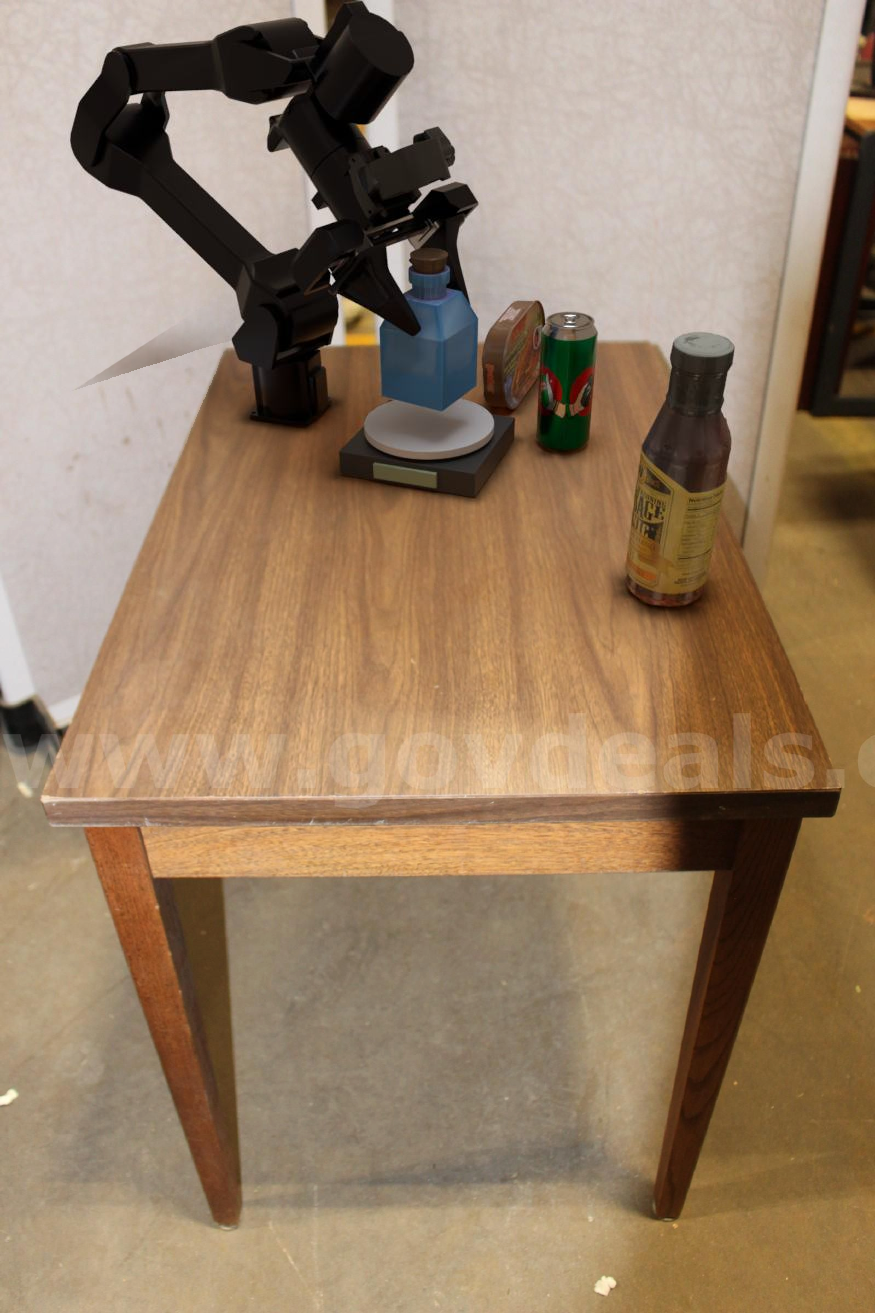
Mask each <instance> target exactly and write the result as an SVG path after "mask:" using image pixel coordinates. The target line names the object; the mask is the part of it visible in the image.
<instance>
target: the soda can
mask: <svg viewBox="0 0 875 1313" xmlns="http://www.w3.org/2000/svg"><path fill="white" fill-rule="evenodd" d="M545 323H546V324H545V326H544V327H543V329H542V331H541V348H540V369H539V376H538V393H537V394H538V395H537V396H538V397H537V410H536V411H537V412H536V431H535V432H536V435H535V436H536V440H537V442H538V443H539V444H540V445H541V446H542V447H543V448H545V449H546V450H548V451H552V452H556V453H571V452H576V451H579V450H581V449H582V448H584V446H585V445H586V444H588V442H589V441H590V436H591V435H590V434H591V421H592V411H593V410H592V409H593V398H594V397H593V396H594V384H595V373H596V361H597V360H596V359H597V347H598V346H597V345H598V336H599V335H598V334H599V332H598V329H597V327H596V326H595V318H594V317H592V316H591V315H589V314H586V313H583V312H579V311H578V312H577V311H560V312H554V313H552V314H550V315H548V316H547V317H546V318H545Z"/></svg>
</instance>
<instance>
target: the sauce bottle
mask: <svg viewBox="0 0 875 1313" xmlns="http://www.w3.org/2000/svg"><path fill="white" fill-rule="evenodd" d="M735 349H736V348H735V344H734V343H733V342H732V341H731V339H729V338H727V337H726V336H723V335H721V334H717V333H713V332H707V331H693V332H687V333H683V334H681V335H678V336H677V337H676V338H675V339H674V340H673V342H672V346H671V351H670V355H669V360H670V361H669V362H670V365H671V369H670V374H669V381H668V387H667V388H668V389H667V392H666V393H665V400H664V402H663V403H662V406H661V407H660V409H659V410H658V413H657V415H656V416H655V419H654V421H653V422H652V424H651V426H650V428H649V430H648V432H647V434H646V436H645V438H644V440H643V442H642V443H641V448H640V454H639V462H638V470H637V477H636V484H635V490H634V498H633V506H632V512H631V522H630V530H629V536H628V542H627V543H628V545H627V552H626V559H625V570H626V576H625V581H626V588H627V589H628V590H629V591H630V593H632V594H633V596H635V597H636V598H639V600H640V601H641V602H643V603H645V604H647V605H651V606H659V607H666V608H673V607H682V606H686V605H689V604H692V603H694V602H695V601H697V600H698V599H700V597H701V595H702V594H703V590H704V587H705V583H706V582H707V579H708V577H709V573H710V572H709V571H710V567H711V566H710V565H711V562H712V556H713V551H714V547H715V546H714V545H715V540H716V535H717V531H718V526H719V520H720V515H721V510H722V505H723V501H724V495H725V490H726V484H727V482H728V481H727V480H728V472H727V471H728V467H729V466H728V465H729V460H730V455H731V451H732V444H733V442H732V441H733V439H732V433H731V429H730V427H729V424H728V420H727V417H725V416H724V413H723V412H722V408H723V405H724V403H725V397H724V395H725V394H724V393H725V390H726V383H727V378H728V372H729V371H730V369H731V367H733V364H734V356H735Z"/></svg>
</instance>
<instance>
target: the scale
mask: <svg viewBox="0 0 875 1313" xmlns="http://www.w3.org/2000/svg"><path fill="white" fill-rule="evenodd" d="M515 432H516V418H515V416H514V417H513V416H506V415H501V414H500V415H499V414H493V413H491V412H490V411H489V410H488V409H486V408H485V407H484V406H482V405H481V404H478V403H476V402H473V401H471V400H468V399H464V398H462V397H461V398H460V399H458V400H457V401H456V402H454V403H453V404H452V405H450V406H449V407H448V408H446V409H445V410H444V411H442V412H441V411H438V410H434V409H430V408H426V407H422V406H418V405H414V404H410V403H406V402H403V401H399V400H395V399H391V398H388V400H387V401H386V402H385V403H382V404H381V405H379V406H377V407H375V408H374V409H372V410H371V411H370V412H369V413H368V414H367V415H366V417H365V419H364V422H363V426H362V427H361V428H359V430H358V431H357V432H356V433H355V434H354V435H353V436H352V437H351V438H350V439H349V440H348V441H347V443H346V444H345V445H343V446H342V448H340V450H339V451H338V458H339V472H340V475H341V476H343V477H344V476H345V477H351V478H356V479H357V478H358V479H364V480H368V481H375V482H381V483H386V484H393V485H397V486H398V485H399V486H404V487H409V488H416V489H421V490H428V491H434V492H439V493H446V494H451V495H457V496H462V497H469V498H476V496H477V495H478V494H479V492H480V490H481V489H482V488H483V487H484V485H485V483H486V482H487V480H488V479H489V477H490V476H491V475H492V474H493V472H494V470H495V469H496V467H497V466H498V464H499V463H500V462H501V460H502V459H503V457H504V456H505V454H506V453H507V452H508V450H509V449H510V447H511V446H512V444H514V442H515Z"/></svg>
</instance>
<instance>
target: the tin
mask: <svg viewBox="0 0 875 1313" xmlns="http://www.w3.org/2000/svg"><path fill="white" fill-rule="evenodd" d="M545 324H546V314H545V309H544V306H543V303H542V302H541V301H540V300H539V299H537V300H536V299H535V300H515V301H513V302H511V303H510V305H509V306H508V307H507V308H506V310H504V312H503V313H502V314H501V315H500V316H499V317H498V318H497V319H496V321H495V322H494V323H493V325H492V326H491V327H490V328H489V330H488V331H487V334H486V336H485V339H484V343H483V347H482V354H481V368H482V383H483V384H482V385H483V398H484V400H485V402H486V404H487V405H488V406H490V407H492V408H501V409H502V408H503V409H510V410H515V409H517V408H518V406H519V405H520V404H521V402H522V401H523V399H524V398H525V397H526V395H527V394H528V392H529V391H530V390H531V388H532V387H533V385H534V384H535V382H536V381H537V379H539V369H540V348H541V331H542V329H543V327H544V326H545Z"/></svg>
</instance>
